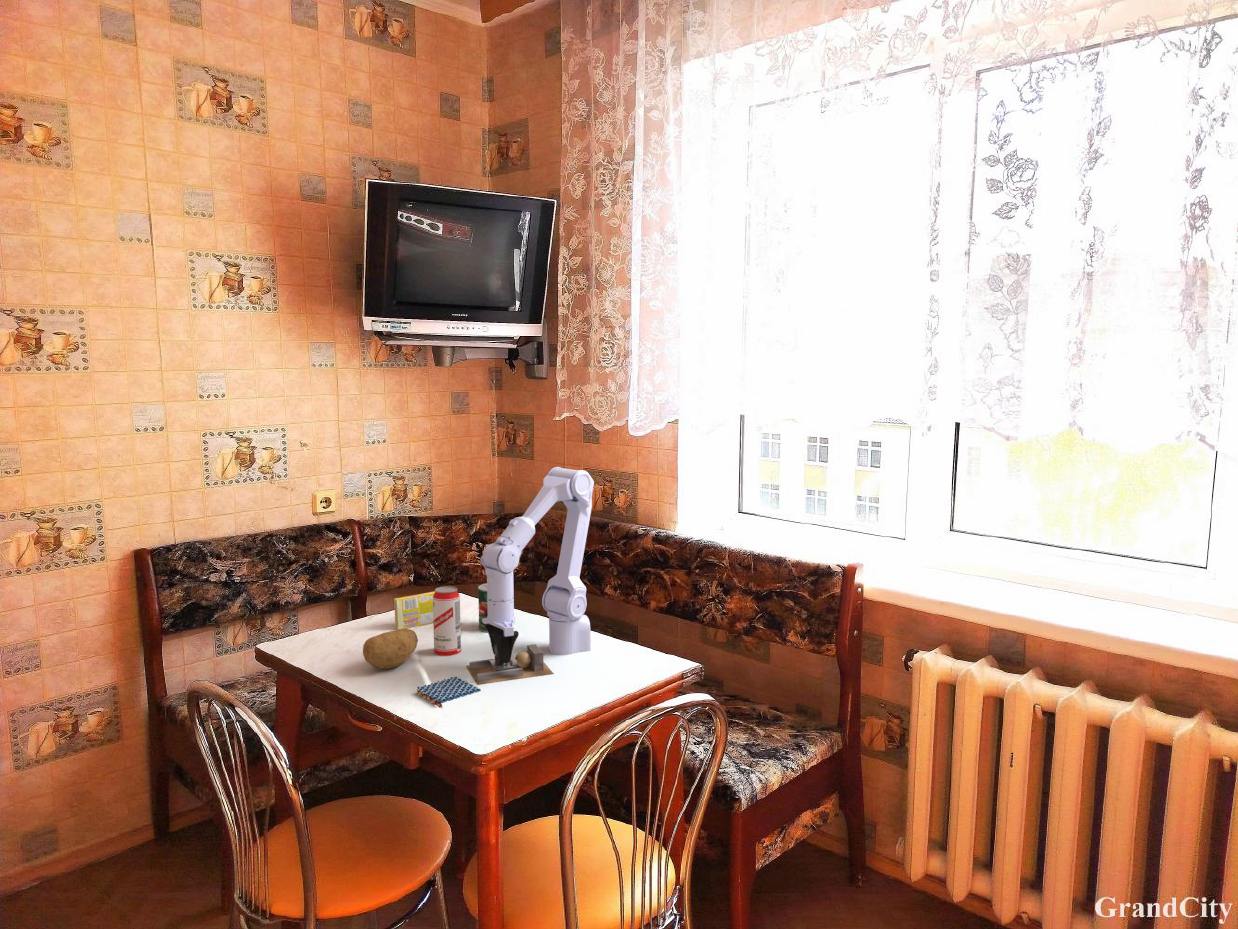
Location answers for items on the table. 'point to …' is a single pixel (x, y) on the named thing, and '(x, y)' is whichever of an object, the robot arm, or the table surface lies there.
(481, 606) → the canned tomato
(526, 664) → the walnut
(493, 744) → the table surface
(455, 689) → the woven mat
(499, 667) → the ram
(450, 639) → the beer can
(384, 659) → the potato
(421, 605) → the candy box
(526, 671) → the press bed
